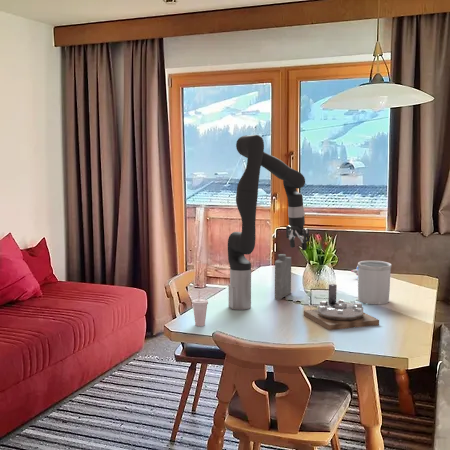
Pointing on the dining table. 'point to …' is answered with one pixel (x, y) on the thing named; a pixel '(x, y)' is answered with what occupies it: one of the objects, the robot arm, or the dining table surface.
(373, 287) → the utensil holder
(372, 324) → the brown wooden board
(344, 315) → the silver round piece
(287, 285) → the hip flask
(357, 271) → the blue toy figure
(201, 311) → the smoothie
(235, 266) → the robot arm
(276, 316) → the dining table surface
